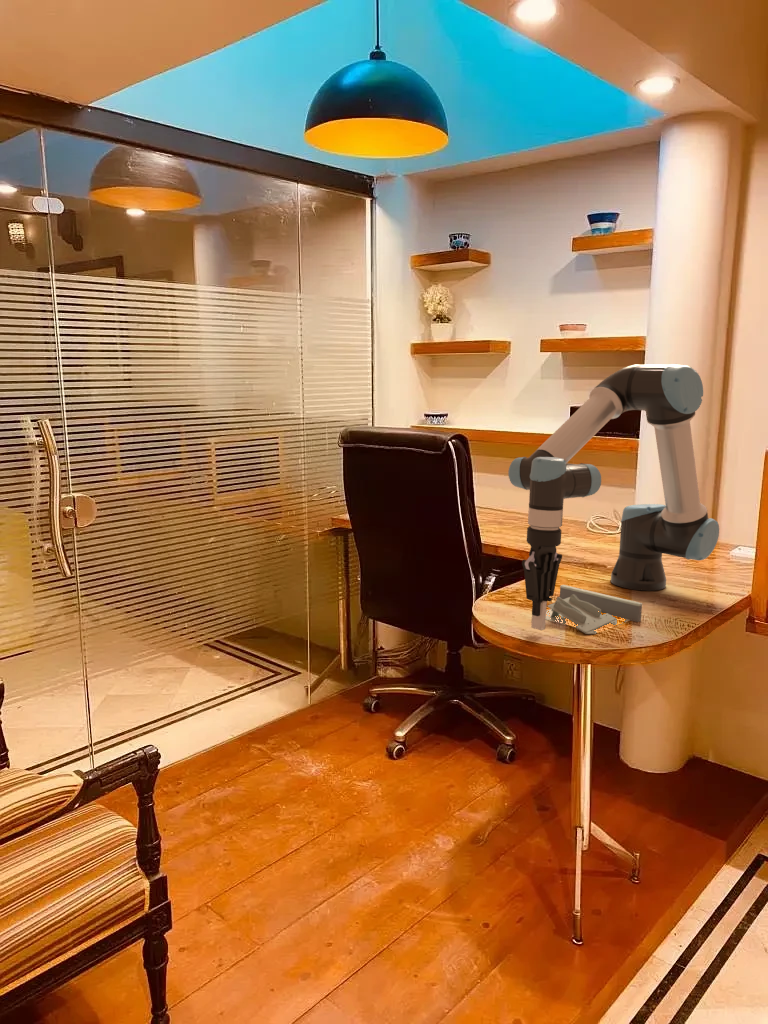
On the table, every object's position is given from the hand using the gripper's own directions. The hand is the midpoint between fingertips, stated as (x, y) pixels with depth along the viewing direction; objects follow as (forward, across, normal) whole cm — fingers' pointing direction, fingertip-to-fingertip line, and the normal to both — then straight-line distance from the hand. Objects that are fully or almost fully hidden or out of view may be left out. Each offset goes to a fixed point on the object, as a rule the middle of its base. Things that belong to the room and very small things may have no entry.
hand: (538, 628), depth 178 cm
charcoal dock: (+1, -20, 0) cm, 20 cm away
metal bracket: (+2, -15, +1) cm, 15 cm away
